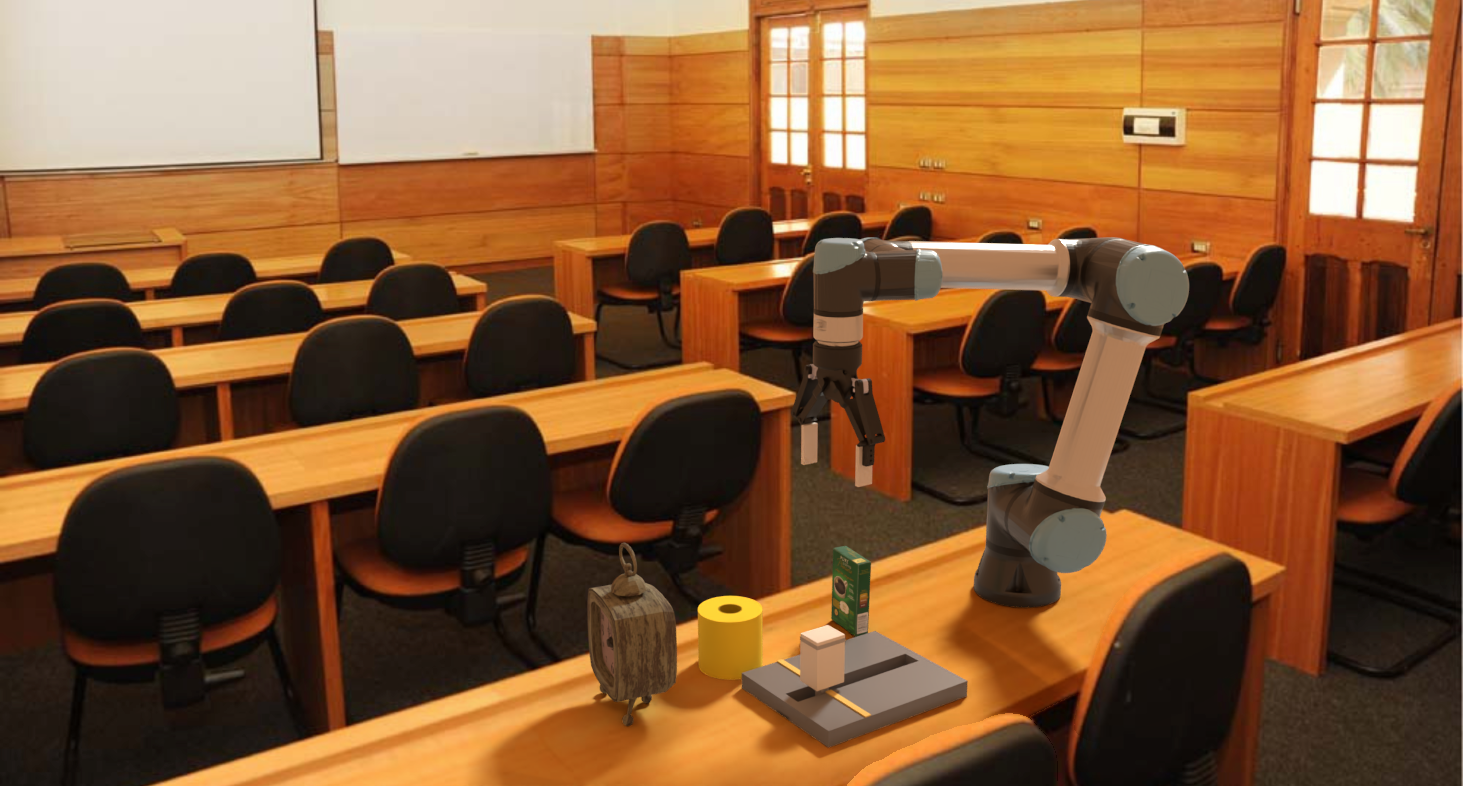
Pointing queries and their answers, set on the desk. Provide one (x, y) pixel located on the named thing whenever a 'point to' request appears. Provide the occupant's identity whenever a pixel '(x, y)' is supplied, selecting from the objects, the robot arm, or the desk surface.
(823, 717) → the fader console
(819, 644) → the fader knob
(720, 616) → the yellow toilet paper roll
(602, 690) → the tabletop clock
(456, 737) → the desk surface
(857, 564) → the coffee box
